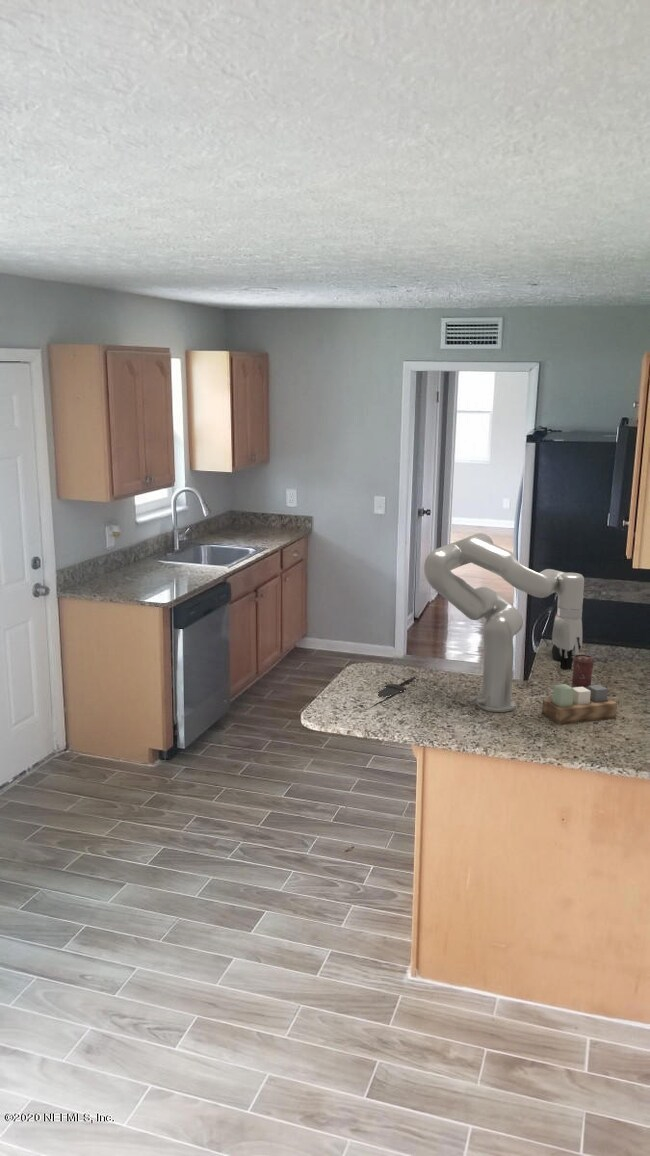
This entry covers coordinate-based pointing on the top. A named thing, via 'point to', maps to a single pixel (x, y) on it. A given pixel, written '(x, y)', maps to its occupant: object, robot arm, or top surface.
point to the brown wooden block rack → (579, 711)
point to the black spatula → (393, 688)
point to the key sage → (563, 695)
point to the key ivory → (581, 695)
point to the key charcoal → (598, 693)
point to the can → (582, 671)
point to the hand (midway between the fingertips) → (565, 668)
